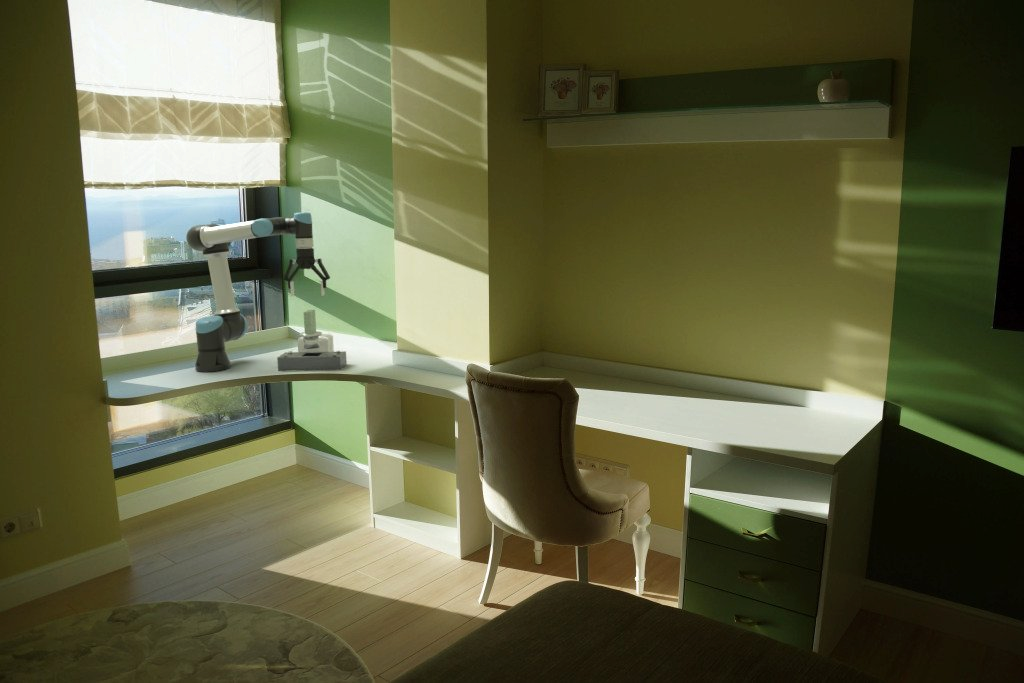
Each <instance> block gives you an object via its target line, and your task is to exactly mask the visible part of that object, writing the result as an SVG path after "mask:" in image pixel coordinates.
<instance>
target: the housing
mask: <svg viewBox="0 0 1024 683" xmlns="http://www.w3.org/2000/svg"><path fill="white" fill-rule="evenodd" d="M347 363H348V362H347V351H340V350H336V351H334V352H298V351H294V352H293V351H289V350H288V351H287V352H284V353H282V354H281V355H279V356H278V357H277V370H278V372H284V371H285V372H287V371H286V370H304V371H341V370H343V368H345V367H346V366H347V365H348V364H347Z"/></svg>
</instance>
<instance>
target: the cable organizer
mask: <svg viewBox="0 0 1024 683" xmlns="http://www.w3.org/2000/svg"><path fill="white" fill-rule="evenodd" d="M297 352H335V349H334V336H333V334H332V333H327V332H326V333H325V332H324V333H323V332H322V335H321V336H319V348H315V349H305V348H304V342H303V337H300V336H299V338H298V339H297Z"/></svg>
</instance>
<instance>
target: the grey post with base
mask: <svg viewBox="0 0 1024 683" xmlns="http://www.w3.org/2000/svg"><path fill="white" fill-rule="evenodd" d="M303 324H304V326H303V327H304V332H300V333H299V338H300V337H303V342H304V348H305V349H315V348H319V336H321V335H322V333H323V332H321V331H318V330H317V322H316V310H315V309H307V310H305V311H303Z"/></svg>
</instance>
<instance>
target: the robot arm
mask: <svg viewBox="0 0 1024 683" xmlns="http://www.w3.org/2000/svg"><path fill="white" fill-rule="evenodd" d="M280 235H281V236H282V235H294V237H295V248H296V249H295V252H296V259H293V258H291V259H289V265H288V266H287V269H286V272H285V273H284V276H283V281H286V282H287V285H288V287H287V288H288V290H290V296H291V297H295V284H294V283H295V282H294V281H293V279H294V278H295V276H296V275H297V274H298V272H299V271H300V270H301V269H302V270H305V269H306V270H312V271H313V272H314V273H315V274H316V275H317V276H318V278H320V280H321V281H320V289H321V290H320V293H321V297H324V296H325V289H326V288H327V281H328V280H330V279H331V276H330V274H329V272H328V271H327V269H326V267H325V265H324V264H323V260H322V258H316V259H315V250H314V249H315V248H314V235H313V220H312V214H311V213H310V212H308V211H307V212H295V213H294V214H293V216H291V217H290V216H288V217H287V216H283V217H282V216H277V217H271V218H269V217H268V218H265V217H264V218H262V217H261V218H258V219H254V220H248V221H242V222H235V223H229V224H221V223H220V224H219V223H211V224H202V225H201V224H199V225H195V226H192V227H191V228H189V230H188V231H187V233H186V242H187V245H188V246H189V247H190V248H191V249H192V250H194V251H197V252H202V255H203V257H205V258H206V259H207V264H208V269H209V270H208V271H209V275H210V280H211V286H212V291H213V296H214V302H215V307H216V310H215V312H214V313H213V315H208V316H204V317H200V318H199V319H197V320H196V321H195V335H196V336H195V337H196V343H197V344H196V345H197V355H196V356H197V357H196V361H195V365H194V367H195V371H196V370H197V372H200V371H213V372H219V371H218V370H221V371H224V370H223V369H225V370H228V369H230V368H231V366H232V365H231V361H230V358H229V356H228V354H227V352H226V343H229V342H230V341H236V340H238V339H241V338H242V337H244V336H245V335H246V333H247V332H248V328H249V325H248V324H249V323H248V320H247V318H246V317H245V315H243V314H241V313H242V312H241V309H239V308H238V307H237V305H236V302H235V301H236V300H235V295H234V290H233V288H234V287H233V284H232V278H231V273H230V268H229V261H228V255H229V253H230V246H232V243H233V242H238V241H244V240H250V239H256V238H265V237H272V236H280ZM315 263H316V264H318V266H319V268H320V270H321V271H320V270H319V269H318V268H317V266H316V265H315ZM296 264H297V266H296V268H295V270H294V271H293V272H292V269H293V267H294V265H296ZM291 272H292V273H291ZM290 274H291V275H290Z"/></svg>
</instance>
